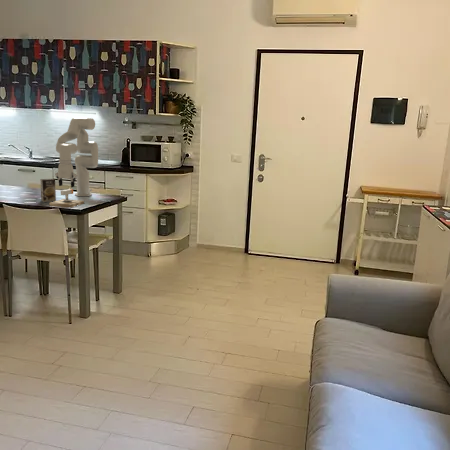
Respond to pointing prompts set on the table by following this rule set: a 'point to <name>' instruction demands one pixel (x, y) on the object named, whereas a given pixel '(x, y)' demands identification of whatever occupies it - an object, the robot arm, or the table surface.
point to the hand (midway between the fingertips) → (66, 186)
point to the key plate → (66, 203)
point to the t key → (66, 192)
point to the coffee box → (48, 190)
